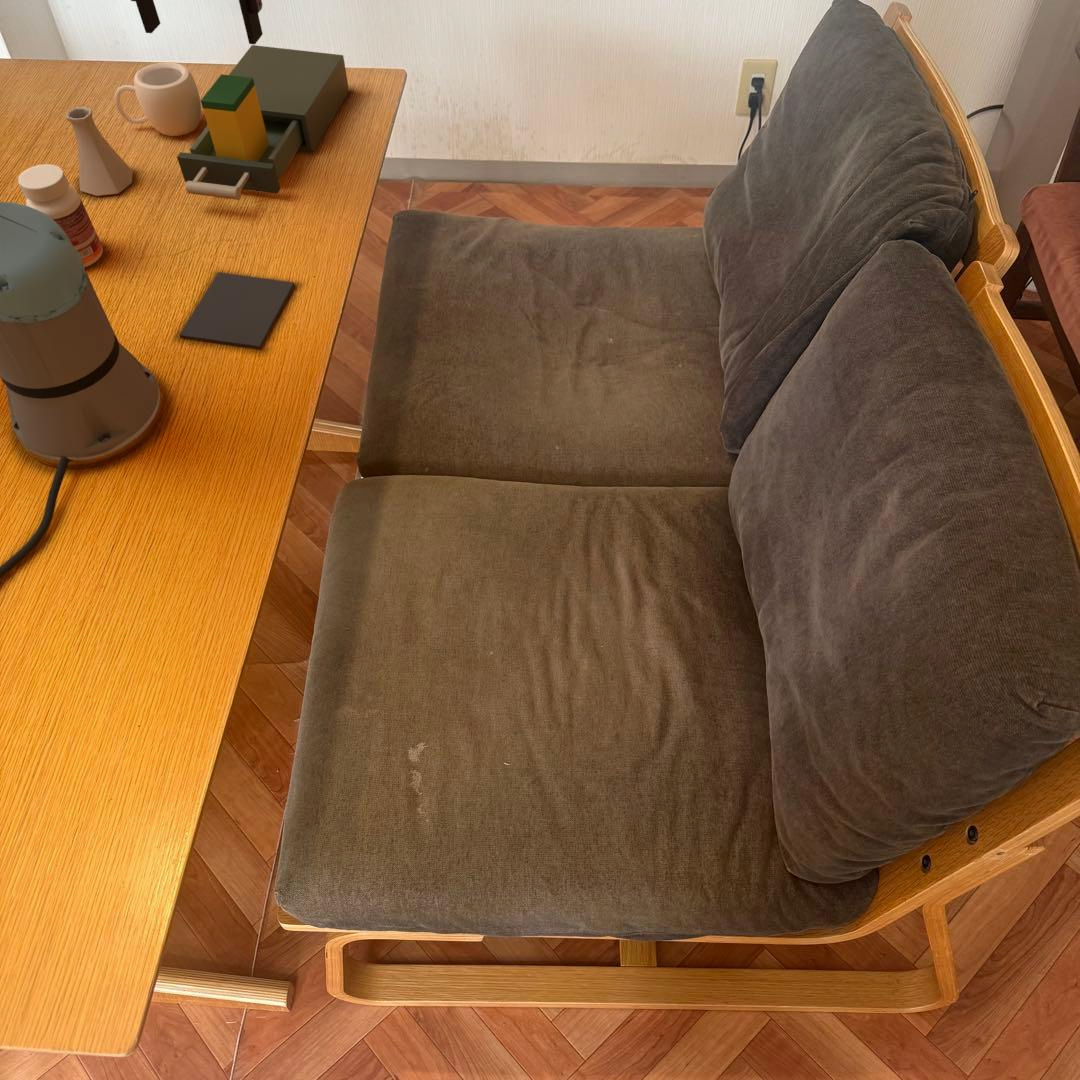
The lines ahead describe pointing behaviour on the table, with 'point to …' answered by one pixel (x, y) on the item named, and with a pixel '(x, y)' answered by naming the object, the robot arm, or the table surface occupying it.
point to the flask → (97, 157)
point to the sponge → (235, 118)
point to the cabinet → (297, 86)
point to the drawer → (241, 162)
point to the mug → (165, 98)
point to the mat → (237, 310)
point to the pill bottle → (61, 207)
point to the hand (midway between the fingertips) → (204, 33)
